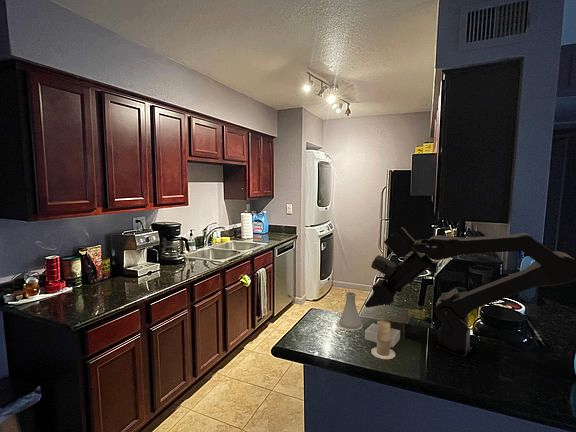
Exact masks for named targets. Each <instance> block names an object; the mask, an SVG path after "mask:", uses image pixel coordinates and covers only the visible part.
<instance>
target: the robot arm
mask: <svg viewBox="0 0 576 432" xmlns="http://www.w3.org/2000/svg"><path fill="white" fill-rule="evenodd" d="M383 243H384V245H386V247H387V248H388V249H389V250H390V251H391V252H392V253H393V254H394V255H395V256H396V258H397V257H399V258H401V257H402V258H404V260H402V261H401V262H398V263H397V264H396V263H394V262H393V261H391V260H390V259H387V258H386V257H385V256H382V255H378V254H377V256H375V257H374V259H373V261H372V263H371V266H370V267H371V268H372V269H373V270H376V271H378V272H380V273H382V274H383V279H379V280H378V281H377V282H376V283H375V284H373V285H372V286H371V287H372V292H373V293H372V294H371V295H370V297H368V299H367V301H366V302H365V304H364V306H365V307H366V308H367V309H368V308H373V307H378V306H384V305H386V306H390V305H391V304H392V303H394V302H395V300H396V299H397V295H398V293H401V292H402V291H403V290H404V288H406V287H407V286H409V285H412V284H413V282H414V281H415V280H416V279H418V278H419V277H420V276H421V275H423V274H424V273H425V272H426V271H427V270H431V272H432V273H433V274H437V272H438V270H439V269H438V265H439V261H440V260H441V261H442V260H445V259H452V258H455V257H457V256H461V255H466V254H482V253H484V254H487V253H489V254H490V253H504V252H509V253H510V252H522V253H524V254H525V255H526V256H528V257H530V258H531V259H532V260H533V262H532V263H530V264H529V265H528V266H527V267H526V268H523V269H522V270H520V271H517V272H515V273H512V274H509V275H507V276H505V277H502V278H500V279H497V280H495V281H491V282H489V283H485V284H484V285H482V286H479V287H476V288H474V289H471V290H469V291H464V292H463V291H462V292H459V290H458V288H456V287H455V288H453V289H451V290H450V291H447V292H442V293H441V296H440V297H439V298H438V299H437V301H436V303H435V304H436V305H435V307H434V315H435V317H436V318H437V320H438V321H440V322H441V324H440V327H439V328H438V337H437V338H438V341H437V342H438V345H437V349H439V350H442V351H444V352H448V353H449V354H452V355H455V356H457V357H461V358H465V357H466V356H467V355H468V353H469V352H470V351H471V350H472V348H473V347H472V346H470V345H471V343H470V342H471V340H470V339H471V328H470V327H469V320H470V319H469V318H470V317H469V314H471V313H472V312H473V311H474V310H476V309H478V308H481V307H484V306H487V305H489V304H492V303H495V302H498V301H500V300H503V299H507V298H509V297H511V296H514V295H517V294H520V293H523V292H526V291H528V290H532V289H533V288H536V287H537V288H538V287H549V286H550V287H551V286H553V287H554V286H558V285H562V284H569V283H573V282H575V281H576V259H575V258H573V257H572V256H570V255H569V254H567V253H565V252H562V251H558V250H557V251H555V250H552V249H551V248H549V247H547V246H546V245H544V244H543V243H541V242H540V241H538V240H536V239H535V238H534V237H532V235H530V234H529V233H527V232H519V233H514V234H513V233H512V234H499V235H486V236H485V235H484V236H473V237H459V236H450V235H439V234H437V235H433V236H431V237H429V239H417V240H415V238H413V237H412V235H410V234H409V233H408V230H407V229H405V228H404V227H403V226H401V227H400V228H399V229H398V230H397V231H395V232H394V233H392V234H390V236H389V237H387V238H386V239H385V240H384V241H383ZM411 252H412V253H411ZM409 253H411V254H410V255H408V254H409ZM407 255H408V256H407ZM406 256H407V257H406ZM405 257H406V258H405ZM397 292H398V293H397Z"/></svg>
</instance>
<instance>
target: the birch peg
mask: <svg viewBox="0 0 576 432" xmlns="http://www.w3.org/2000/svg"><path fill="white" fill-rule="evenodd" d="M376 324H377V343H376V347H377V353H378V354H379V355H382V356H388V355H389V354H390V349H391V347H390V328H391V322H390V321H387V320H382V319H381V320H377V323H376Z"/></svg>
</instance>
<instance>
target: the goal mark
mask: <svg viewBox="0 0 576 432" xmlns="http://www.w3.org/2000/svg"><path fill="white" fill-rule="evenodd" d="M339 321H340V319H339V320H338V321H336V326H337V327H338V328H340V329H342V330H346V331H357V330H360V329H362V328H363V323H362V322H361V324H362V326H361V327H359V328H357V329H352V328H345V327H343V326H340V325H339Z"/></svg>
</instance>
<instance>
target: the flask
mask: <svg viewBox="0 0 576 432" xmlns="http://www.w3.org/2000/svg"><path fill="white" fill-rule="evenodd" d="M345 296H346V300H345V303H344V304H345V305H344V308H343V310H342V314H341V316H340V319H339V320H340V321H339V320H338V321H339V325H340V326H343V327H345V328H352V329H357V328H359V327H361V326H362V325H363V323H362V321H361V317H360V313H359V312H358V309H357V305H356V296H357V294H356V292H354V291H347V292H345ZM361 323H362V324H361ZM362 327H363V326H362Z"/></svg>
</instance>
